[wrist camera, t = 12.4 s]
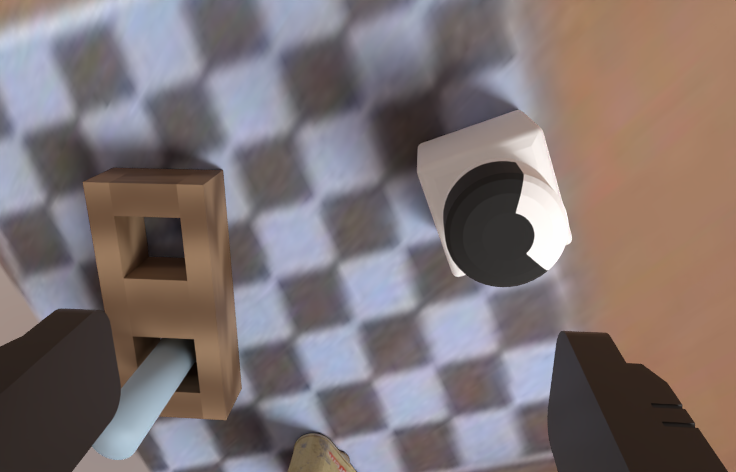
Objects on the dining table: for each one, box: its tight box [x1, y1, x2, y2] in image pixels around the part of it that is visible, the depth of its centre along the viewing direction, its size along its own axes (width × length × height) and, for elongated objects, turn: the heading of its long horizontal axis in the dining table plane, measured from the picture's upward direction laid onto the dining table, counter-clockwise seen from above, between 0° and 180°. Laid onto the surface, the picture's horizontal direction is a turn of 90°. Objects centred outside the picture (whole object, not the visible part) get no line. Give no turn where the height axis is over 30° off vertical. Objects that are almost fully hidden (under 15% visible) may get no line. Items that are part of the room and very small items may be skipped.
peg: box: [92, 338, 196, 460], centre depth 40 cm, size 3×3×12 cm
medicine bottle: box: [417, 110, 572, 287], centre depth 34 cm, size 7×7×12 cm
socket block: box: [83, 168, 242, 420], centre depth 42 cm, size 18×8×4 cm, turn 0°
